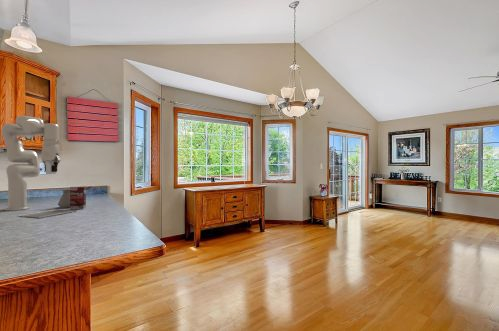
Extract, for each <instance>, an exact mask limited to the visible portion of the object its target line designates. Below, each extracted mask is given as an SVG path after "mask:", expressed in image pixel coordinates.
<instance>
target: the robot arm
mask: <svg viewBox="0 0 499 331" xmlns="http://www.w3.org/2000/svg"><path fill="white" fill-rule="evenodd" d="M1 135H2V138H3V140H4V142H5V145H6V153H7V154H6V156H7V159H8V161H9V162H10V163H13V164H10V165H8V166H7V167H6V175H7V176H6V177H7V188H8V190H7V204H5V205H6V207H5V208H4V211H7V212H9V211H12V212H13V211H23V210H24V211H25V210H28V209H30V207H31V206H28V201H27V200H28V199H27V198H28V194H27V192H28V184H27V182H26V180H24V178H36V177H38V176H39V175H40V173H41V172H40V163H39V157H38V154H37V152H36V151H35V150H32V149H24V143H23V142H22V141H21V140H20V139H19V138H18V137H22V138H23V137H24V138H34V137H36V136H43V143H42V148H41V154H40V155H41V158H40V160H41V162H42V163H43V166H44V173H46V161H52V165H53V166H51V172H56V173H57V172H58V166H59V164H60V162H61V151H60V150H61V149H60V144H59V143H60V142H59V140H60V127H59V125H58V124H57V123H52V122H51V123H48V122H47V123H44V120H43V119H41V118H39V117H36V116H35V117H34V116H30V115H19V116H17V117H16V118H15V123H5V124H3V125H2V126H1Z"/></svg>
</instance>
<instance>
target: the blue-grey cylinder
mask: <svg viewBox="0 0 499 331" xmlns="http://www.w3.org/2000/svg"><path fill="white" fill-rule="evenodd" d="M51 166H53V165H52V161H46V172H45V175H56V174H57V172H51Z"/></svg>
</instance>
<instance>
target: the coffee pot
mask: <svg viewBox="0 0 499 331" xmlns="http://www.w3.org/2000/svg"><path fill="white" fill-rule="evenodd" d="M90 188H91V189H93V186H87V187H86V190H89V189H90ZM57 202H58V203H57V205H58V206H59V207H60V208H61V209H68V208H69V209H70V189H62V195H61V197H60V198H59V201H57Z"/></svg>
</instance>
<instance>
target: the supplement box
mask: <svg viewBox="0 0 499 331" xmlns="http://www.w3.org/2000/svg"><path fill="white" fill-rule="evenodd" d="M86 188H87V186H70V187H69V190H70V208H69V211H72V210H85V209H86V208H87V189H86Z"/></svg>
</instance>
